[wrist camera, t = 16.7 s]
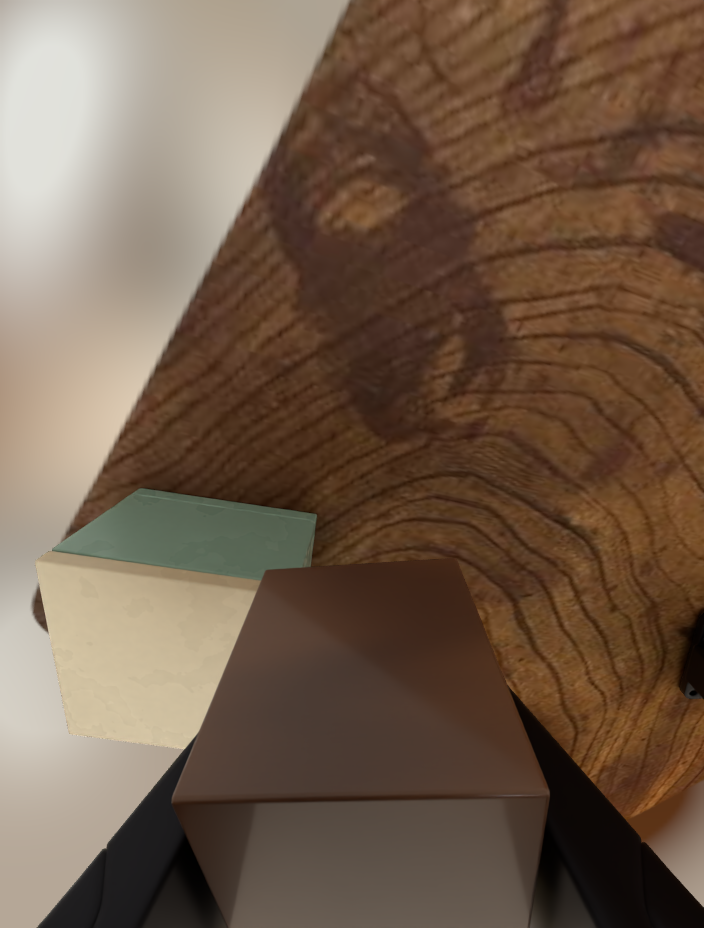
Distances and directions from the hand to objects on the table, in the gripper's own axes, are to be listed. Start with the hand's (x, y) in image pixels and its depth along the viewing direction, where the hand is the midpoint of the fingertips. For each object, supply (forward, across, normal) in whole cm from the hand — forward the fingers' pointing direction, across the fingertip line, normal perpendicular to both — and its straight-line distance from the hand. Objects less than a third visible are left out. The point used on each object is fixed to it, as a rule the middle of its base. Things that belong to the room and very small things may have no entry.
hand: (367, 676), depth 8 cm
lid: (+5, +8, +5) cm, 11 cm away
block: (+1, 0, 0) cm, 1 cm away
